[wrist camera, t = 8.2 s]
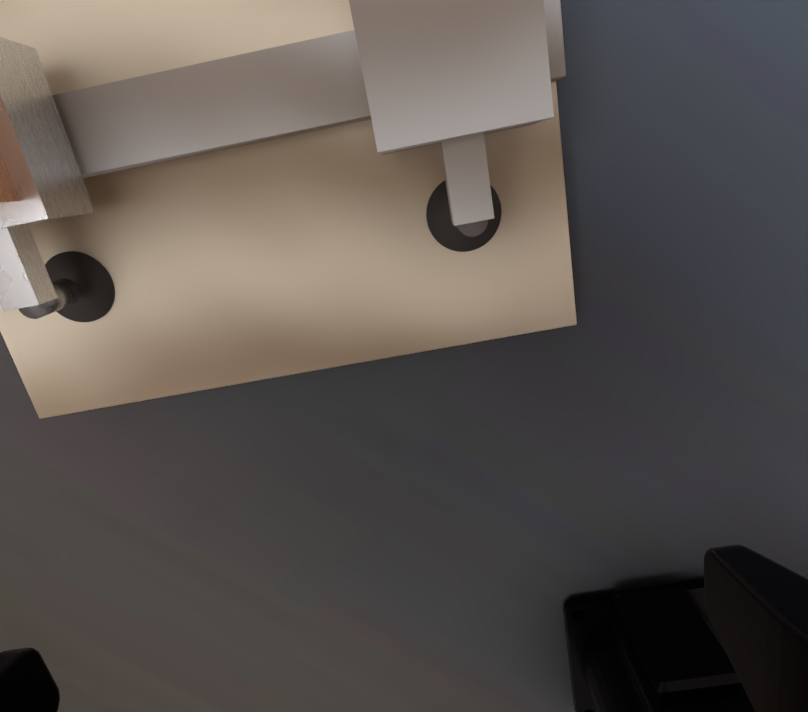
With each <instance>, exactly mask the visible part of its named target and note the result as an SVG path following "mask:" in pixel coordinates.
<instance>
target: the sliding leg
mask: <svg viewBox="0 0 808 712" xmlns="http://www.w3.org/2000/svg"><path fill="white" fill-rule="evenodd" d="M93 212H94V209H93V206H92V203H91V201H90V198H89V195H88V192H87V190H86V187H85V184H84V181H83V179H82V176H81V173H80V170H79V168H78V165H77V162H76V159H75V156H74V154H73V151H72V148H71V145H70V143H69V140H68V137H67V134H66V132H65V129H64V126H63V123H62V121H61V118H60V115H59V112H58V109H57V107H56V104H55V101H54V98H53V96H52V93H51V90H50V87H49V85H48V82H47V79H46V76H45V74H44V71H43V68H42V65H41V63H40V60H39V57H38V54H37V51H36V49H35V48H32V47H29V46H26V45H23V44H20V43H17V42H14V41H11V40H8V39H5V38H2V37H0V305H1V308H2V310H3V311H9V310H14V309H18V310H19V311H20V312H21V313H22V314H23V315H24V316H26V317H28V318H31V319H38V318H41V317H43V316H46V315H48V314H51V313H53V312H56V311H58V310H61V309H63V308H65V307H68V306H70V305H73V304H75V303H77V302H78V301H79V299H80V290H79V287H78V286H77V284H76V283H74V282H73V281H72V280H69V279H65V278H62V279H58V280H55V281H52V282H51V280H50V277H49V275H48V272H47V270H46V267H45V265H44V262H43V260H42V257H41V255H40V252H39V250H38V247H37V245H36V243H35V240H34V238H33V235H32V233H31V230H30V228H29V225H33V224H38V223H43V222H48V221H53V220H58V219H63V218H68V217H73V216H78V215H83V214H88V213H93Z"/></svg>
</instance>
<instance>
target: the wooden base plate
mask: <svg viewBox="0 0 808 712" xmlns="http://www.w3.org/2000/svg"><path fill="white" fill-rule="evenodd" d="M0 37H2V38H5V39H8V40H11V41H14V42H17V43H20V44H23V45H26V46H29V47H32V48H35V49H36V51H37V54H38V57H39V60H40V63H41V65H42V68H43V71H44V74H45V76H46V79H47V82H48V85H49V87H50V90H51V93H52V96H53V98H54V101H55V104H56V107H57V109H58V112H59V115H60V118H61V121H62V123H63V126H64V129H65V132H66V134H67V137H68V140H69V143H70V145H71V148H72V151H73V154H74V156H75V159H76V162H77V165H78V168H79V170H80V173H81V176H82V179H83V181H84V184H85V187H86V190H87V192H88V195H89V198H90V201H91V203H92V206H93V209H94V212H93V213H88V214H83V215H78V216H73V217H68V218H63V219H58V220H53V221H48V222H43V223H38V224H33V225H29V228H30V230H31V233H32V235H33V238H34V240H35V243H36V245H37V247H38V250H39V252H40V255H41V257H42V260H43V262H44V265H45V267H46V270H47V272H48V275H49V277H50V280H51V282H52V281H55V280H58V279H62V278H65V279H69V280H72V281H73V282H74V283H76V284H77V286H78V287H79V290H80V299H79V301H78V302H77V303H75V304H73V305H70V306H68V307H65V308H63V309H61V310H58V311H56V312H53V313H51V314H48V315H46V316H43V317H41V318H38V319H31V318H28V317H26V316H24V315H23V314H22V313H21V312H20V311H19V310H18V309H14V310H9V311H3V310H2V308H1V305H0V331H1V334H2V336H3V338H4V340H5V343H6V345H7V347H8V349H9V352H10V354H11V356H12V358H13V360H14V363H15V365H16V367H17V369H18V372H19V374H20V376H21V378H22V381H23V383H24V385H25V387H26V390H27V392H28V394H29V396H30V398H31V401H32V403H33V405H34V407H35V410H36V412H37V414H38V416H39V419H40V418H46V417H52V416H57V415H63V414H69V413H75V412H80V411H86V410H92V409H97V408H103V407H109V406H115V405H120V404H126V403H132V402H137V401H143V400H149V399H155V398H160V397H166V396H172V395H177V394H183V393H189V392H195V391H200V390H206V389H212V388H217V387H223V386H229V385H235V384H240V383H246V382H252V381H257V380H263V379H269V378H275V377H280V376H286V375H292V374H297V373H303V372H309V371H315V370H320V369H326V368H332V367H337V366H343V365H349V364H355V363H360V362H366V361H372V360H377V359H383V358H389V357H395V356H400V355H406V354H412V353H417V352H423V351H429V350H435V349H440V348H446V347H452V346H457V345H463V344H469V343H475V342H480V341H486V340H492V339H497V338H503V337H509V336H514V335H520V334H526V333H532V332H537V331H543V330H549V329H554V328H560V327H566V326H572V325H577V321H576V309H575V298H574V286H573V274H572V263H571V251H570V239H569V228H568V216H567V204H566V192H565V181H564V169H563V157H562V146H561V134H560V122H559V111H558V99H557V87H556V81H558V80H560V79H561V78H563V77H565V76H566V67H565V54H564V42H563V29H562V17H561V4H560V0H0Z"/></svg>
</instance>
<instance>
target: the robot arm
mask: <svg viewBox="0 0 808 712" xmlns="http://www.w3.org/2000/svg"><path fill="white" fill-rule="evenodd" d="M577 610H580V611H578V612H574V611H577ZM563 613H564V621H565V630H566V639H567V647H568V656H569V665H570V674H571V682H572V691H573V700H574V707H575V711H576V712H808V579H807V578H805V577H803V576H801V575H799V574H797V573H795V572H793V571H791V570H789V569H787V568H785V567H783V566H781V565H779V564H778V563H776V562H774V561H772V560H770V559H768V558H766V557H764V556H762V555H760V554H758V553H756V552H754V551H752V550H751V549H749V548H746V547H744V546H741V545H730V546H723V547H716V548H711V549H709V550H707V551H706V553H705V556H704V579H702V580H695V581H688V582H681V583H674V584H667V585H660V586H653V587H646V588H639V589H632V590H625V591H618V592H611V593H604V594H597V595H590V596H583V597H576V598H572V599H569V600H568V601H566V603H565V604H564V606H563ZM59 701H60V694H59V689H58V687H57V685H56V683H55V681H54V679H53V677H52V675H51V674H50V672H49V670H48V668H47V666H46V664H45V662H44V660H43V658H42V657H41V655H40V653H39V652H38V651H37V650H35V649H33V648H21V649H14V650H8V651H4V652H1V653H0V712H57V710H58V707H59Z"/></svg>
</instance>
